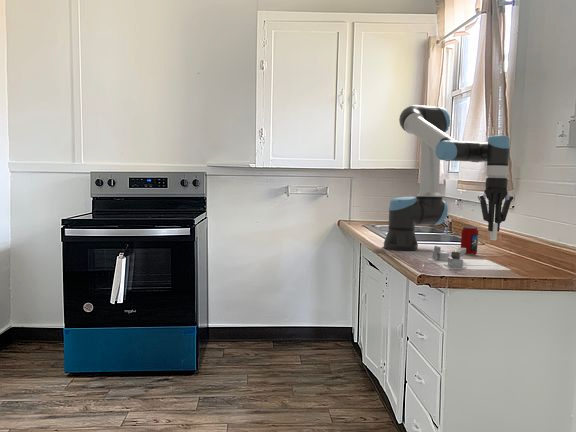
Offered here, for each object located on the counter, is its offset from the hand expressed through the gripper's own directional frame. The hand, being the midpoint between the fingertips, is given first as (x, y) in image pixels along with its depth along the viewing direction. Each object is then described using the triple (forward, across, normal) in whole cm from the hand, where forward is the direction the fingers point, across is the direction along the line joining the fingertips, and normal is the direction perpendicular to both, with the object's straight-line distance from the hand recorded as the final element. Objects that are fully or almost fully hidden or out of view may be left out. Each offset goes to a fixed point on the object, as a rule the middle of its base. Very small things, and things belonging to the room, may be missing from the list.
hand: (493, 239), depth 190 cm
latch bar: (+6, +14, +2) cm, 15 cm away
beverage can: (+10, -2, -26) cm, 28 cm away
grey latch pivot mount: (+9, +17, +8) cm, 21 cm away
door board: (+10, +10, +2) cm, 14 cm away
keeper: (+9, +18, -6) cm, 21 cm away
